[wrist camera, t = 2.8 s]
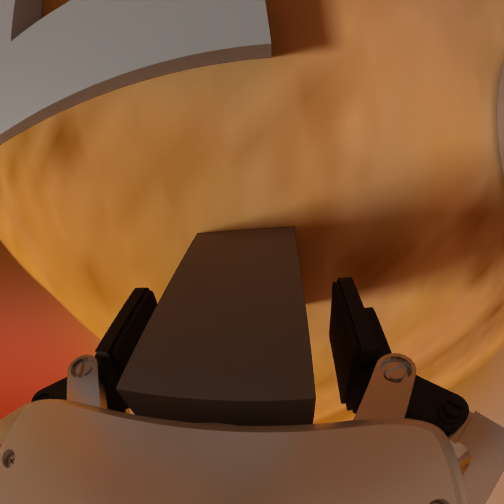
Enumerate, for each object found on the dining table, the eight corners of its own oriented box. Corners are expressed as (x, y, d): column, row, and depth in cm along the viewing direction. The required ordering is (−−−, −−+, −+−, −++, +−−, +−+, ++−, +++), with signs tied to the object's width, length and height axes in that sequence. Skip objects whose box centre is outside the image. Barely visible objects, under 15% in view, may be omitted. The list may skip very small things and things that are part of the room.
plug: (293, 226, 13) (320, 462, 4) (296, 305, 15) (306, 503, 6) (197, 233, 14) (93, 437, 4) (213, 308, 16) (165, 493, 6)
